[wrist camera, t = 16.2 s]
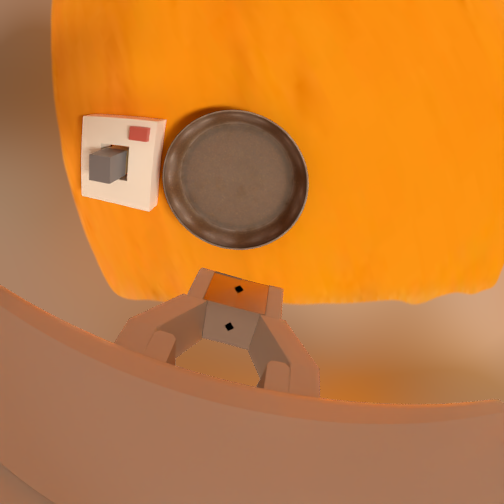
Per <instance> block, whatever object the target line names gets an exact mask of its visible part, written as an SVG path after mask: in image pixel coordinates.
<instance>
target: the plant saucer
mask: <svg viewBox="0 0 504 504" xmlns="http://www.w3.org/2000/svg"><path fill="white" fill-rule="evenodd" d="M308 185H309V182H308V172H307V167H306V163H305V160H304V158H303V155H302V153H301V151H300V149H299V148H298V146H297V144H296V143H295V142H294V140H293V139H292V138H291V137H290V135H289V134H288V133H287V132H286V131H285V130H283V129H282V128H281V127H280V126H279V125H277V124H276V123H274V122H273V121H271V120H269V119H267V118H265V117H263V116H261V115H258V114H255V113H252V112H247V111H241V110H223V111H217V112H213V113H209V114H207V115H204V116H202V117H200V118H198V119H196V120H194V121H193V122H191V123H190V124H188V125H187V126H186V127H185V128H184V129H183V130H182V131H181V132H180V133H179V134H178V135H177V136H176V138H175V139H174V141H173V142H172V143H171V145H170V147H169V149H168V152H167V154H166V157H165V161H164V166H163V187H164V192H165V196H166V199H167V201H168V204H169V206H170V208H171V210H172V212H173V213H174V215H175V216H176V218H177V219H178V220H179V222H180V223H181V224H182V225H183V226H184V227H185V228H186V229H187V230H188V231H190V232H191V233H192V234H193V235H195V236H196V237H198V238H199V239H201V240H203V241H205V242H207V243H209V244H211V245H214V246H217V247H221V248H225V249H234V250H246V249H253V248H258V247H261V246H264V245H267V244H269V243H271V242H273V241H275V240H277V239H279V238H280V237H281V236H283V235H284V234H285V233H286V232H288V231H289V230H290V229H291V228H292V226H293V225H294V224H295V223H296V221H297V220H298V218H299V217H300V215H301V213H302V211H303V209H304V206H305V203H306V200H307V195H308Z"/></svg>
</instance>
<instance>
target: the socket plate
mask: <svg viewBox="0 0 504 504" xmlns="http://www.w3.org/2000/svg"><path fill="white" fill-rule="evenodd" d="M165 126H166V120H164V119H156V118H147V117H136V116H124V115H109V114H91V115H86V116H83V126H82V147H81V185H82V196H86V197H90V198H94V199H99V200H103V201H107V202H111V203H116V204H120V205H124V206H128V207H132V208H137V209H141V210H145V211H150V210H152V209H153V208H154V207H155V206H156V205H157V201H158V188H159V177H160V167H161V157H162V149H163V141H164V133H165ZM111 144H112V145H120V146H127V147H129V156H128V173H127V174H125V176H123V177H121V178H119V179H117V180H116V181H114V182H112V183H111V184H107V183H102V182H97V181H92V180H89V154H91V153H94V152H96V151H99V150H101V149H104V148H109V147H111Z"/></svg>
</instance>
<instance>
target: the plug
mask: <svg viewBox="0 0 504 504" xmlns="http://www.w3.org/2000/svg"><path fill="white" fill-rule="evenodd" d="M128 156H129V147H126V146H118V145H115V146H112V147H109V148H104V149H101V150H99V151H96V152H94V153H91V154H89V180H92V181H97V182H102V183H107V184H111V183H112V182H114V181H116V180H117V179H119V178H121V177H123V176H125V174H126V173H128Z"/></svg>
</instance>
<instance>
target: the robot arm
mask: <svg viewBox="0 0 504 504" xmlns="http://www.w3.org/2000/svg"><path fill="white" fill-rule="evenodd" d="M282 302H283V289H282V288H279V287H274V286H270V285H269V286H268V285H264V284H260V283H256V282H252V281H248V280H244V279H241V278H237V277H234V276H230V275H227V274H223V273H220V272H216V271H212V270H209V269H205V268H201V269H200V270H199V272H198V274H197V276H196V278H195V280H194V282H193V284H192V286H191V288H190V290H189V292H188V294H187V295H186V294H182V295H179V296H177V297H175V298H173V299H171V300H169V301H166V302H164V303H162V304H160V305H158V306H156V307H153V308H151V309H149V310H147V311H145V312H143V313H140V314H138V315H136V316H134V317H131V318H129V320H128V321H127V323H126V325H125V326H124V328H123V330H122V331H121V333H120V334H119V336H118V337H117V339H116V341H115V342H114V343H112V342H109V341H107V340H105V339H102V338H100V337H98V336H95V335H93V334H91V333H88V332H87V331H84V330H82V329H80V328H78V327H76V326H74V325H72V324H70V323H68V322H65V321H63V320H61V319H59V318H58V317H56V316H54V315H52V314H50V313H48V312H46V311H44V310H42V309H41V308H39V307H37V306H35V305H33V304H32V303H30V302H28V301H26V300H24V299H23V298H21V297H19V296H18V295H16V294H15V293H13V292H11V291H9V290H8V289H6V288H5V287H3V286H2V285H0V504H504V403H503V402H502V401H501V400H499V399H489V400H482V401H472V402H461V403H446V404H445V403H444V404H382V403H365V402H352V401H341V400H332V399H324V398H320V376H319V368H318V366H317V365H316V363H315V362H314V361H313V359H312V358H311V356H310V355H309V353H308V352H307V351H306V349H305V348H304V346H303V345H302V344H301V342H300V341H299V339H298V338H297V337H296V335H295V334H294V332H293V331H292V329H291V328H290V327H289V325H288V324H287V322H286V321H285V320H282V319H281V314H282ZM202 338H205V339H209V340H213V341H217V342H221V343H225V342H226V343H225V344H229V345H232V346H236V347H239V348H243V349H247V350H248V352H249V354H250V357H251V359H252V361H253V363H254V366H255V368H256V370H257V373H258V375H259V377H260V381H259V382H258V384H257V387H254V386H249V385H245V384H240V383H236V382H232V381H228V380H224V379H220V378H216V377H212V376H209V375H205V374H201V373H198V372H194V371H191V370H188V369H184V368H181V367H178V366H175V358H177V357H178V356H179V355H181V354H182V353H183V352H185V351H186V350H187V349H189V348H190V347H192V346H193V345H194V344H196V343H197V342H198V341H200V340H201V339H202Z"/></svg>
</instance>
